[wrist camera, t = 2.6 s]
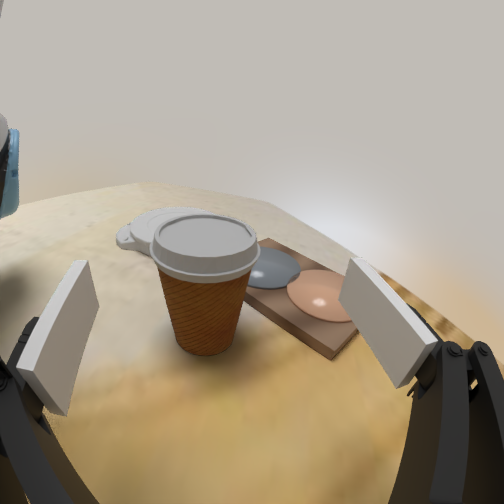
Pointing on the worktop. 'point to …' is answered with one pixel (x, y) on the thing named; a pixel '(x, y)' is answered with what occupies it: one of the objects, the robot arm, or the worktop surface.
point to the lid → (149, 227)
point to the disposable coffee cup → (204, 277)
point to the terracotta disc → (318, 295)
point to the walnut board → (299, 311)
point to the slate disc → (273, 270)
